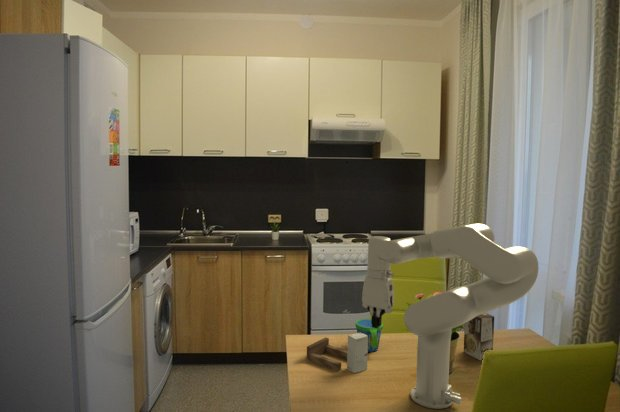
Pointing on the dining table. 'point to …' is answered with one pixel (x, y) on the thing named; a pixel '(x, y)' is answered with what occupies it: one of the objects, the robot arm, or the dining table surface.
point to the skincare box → (357, 352)
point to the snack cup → (369, 333)
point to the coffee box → (479, 335)
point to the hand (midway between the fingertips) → (376, 326)
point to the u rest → (323, 347)
